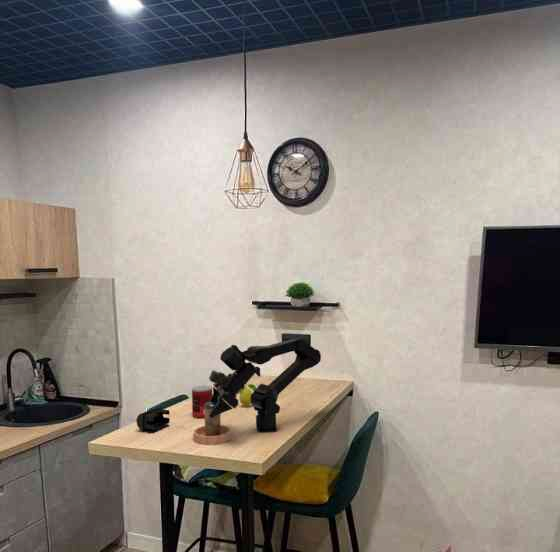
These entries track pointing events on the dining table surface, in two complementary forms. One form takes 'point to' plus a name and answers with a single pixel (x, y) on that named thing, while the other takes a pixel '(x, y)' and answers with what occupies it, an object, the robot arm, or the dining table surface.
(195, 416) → the canned food
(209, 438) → the terracotta dish
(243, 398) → the lemon
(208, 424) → the pepper mill
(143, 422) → the end cap
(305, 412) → the dining table surface
